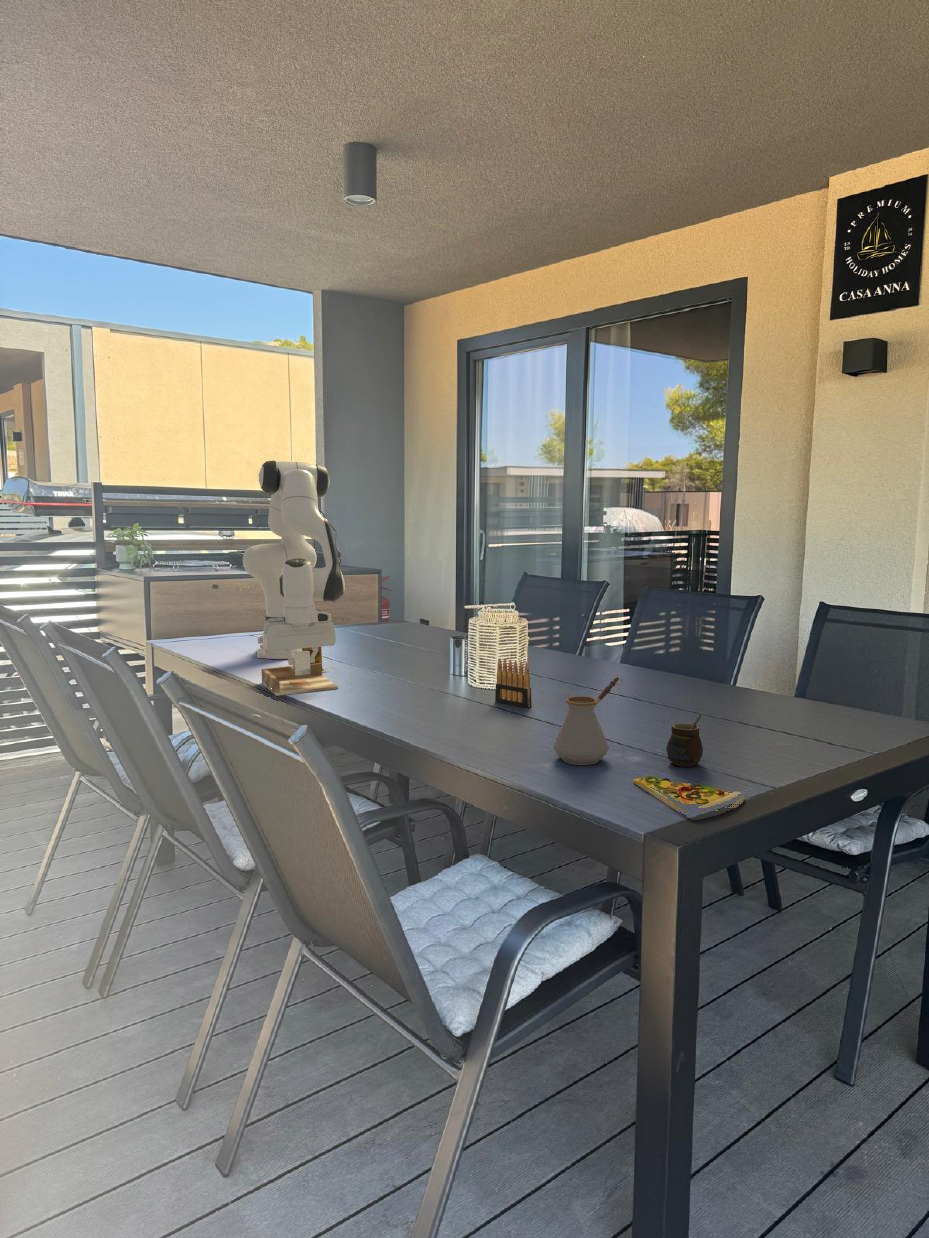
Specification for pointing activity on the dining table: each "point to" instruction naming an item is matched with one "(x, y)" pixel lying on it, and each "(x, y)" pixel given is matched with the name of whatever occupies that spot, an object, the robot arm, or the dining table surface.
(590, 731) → the coffee pot
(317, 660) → the condiment
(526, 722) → the dining table surface
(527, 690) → the ammunition clip
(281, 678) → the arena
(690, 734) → the mate gourd
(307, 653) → the bracket
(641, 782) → the pizza slice
